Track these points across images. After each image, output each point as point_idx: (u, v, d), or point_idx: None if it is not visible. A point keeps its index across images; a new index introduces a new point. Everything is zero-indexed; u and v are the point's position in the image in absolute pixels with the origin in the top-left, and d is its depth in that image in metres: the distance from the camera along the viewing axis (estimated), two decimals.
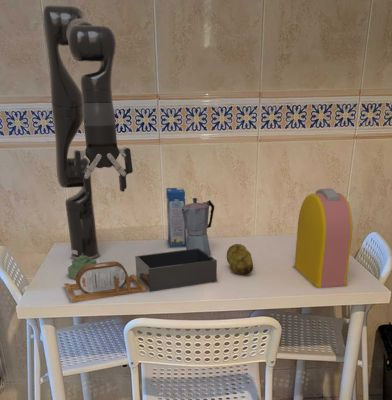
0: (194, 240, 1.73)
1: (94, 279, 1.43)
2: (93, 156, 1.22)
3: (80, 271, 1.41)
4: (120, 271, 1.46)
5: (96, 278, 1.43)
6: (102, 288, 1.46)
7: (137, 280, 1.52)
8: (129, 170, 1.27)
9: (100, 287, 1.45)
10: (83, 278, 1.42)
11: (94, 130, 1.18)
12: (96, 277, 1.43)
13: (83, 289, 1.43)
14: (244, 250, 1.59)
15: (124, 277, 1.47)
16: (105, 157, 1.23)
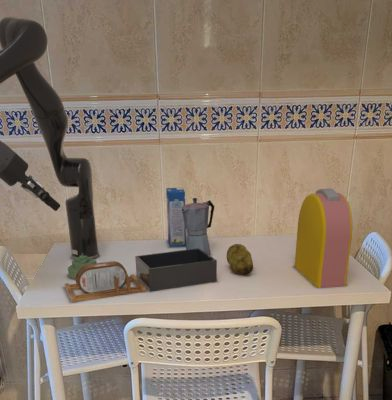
0: (194, 240, 1.73)
1: (94, 279, 1.43)
2: None
3: (80, 271, 1.41)
4: (120, 271, 1.46)
5: (96, 278, 1.44)
6: (102, 288, 1.46)
7: (137, 280, 1.52)
8: (41, 199, 1.29)
9: (100, 287, 1.45)
10: (83, 278, 1.42)
11: None
12: (96, 277, 1.43)
13: (83, 289, 1.43)
14: (244, 250, 1.59)
15: (124, 277, 1.47)
16: None
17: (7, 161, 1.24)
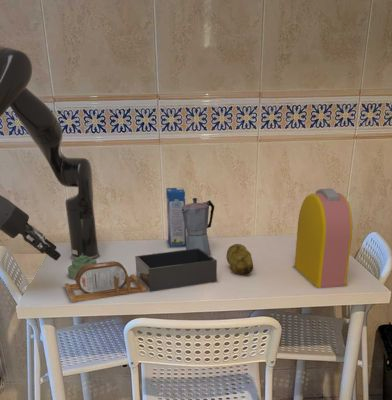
0: (194, 240, 1.73)
1: (94, 279, 1.43)
2: None
3: (80, 271, 1.41)
4: (120, 271, 1.46)
5: (96, 278, 1.44)
6: (102, 288, 1.46)
7: (137, 280, 1.52)
8: None
9: (100, 287, 1.45)
10: (83, 278, 1.42)
11: None
12: (96, 277, 1.43)
13: (83, 289, 1.43)
14: (244, 250, 1.59)
15: (124, 277, 1.47)
16: None
17: (7, 216, 1.27)
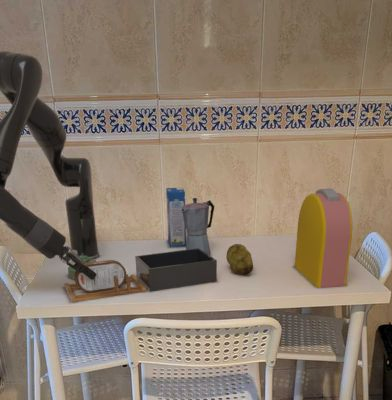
0: (194, 240, 1.73)
1: None
2: None
3: None
4: (118, 269, 1.46)
5: None
6: (101, 286, 1.46)
7: (137, 280, 1.52)
8: None
9: (99, 285, 1.46)
10: (81, 275, 1.43)
11: None
12: None
13: (82, 287, 1.44)
14: (244, 250, 1.59)
15: (123, 275, 1.47)
16: None
17: (46, 239, 1.32)
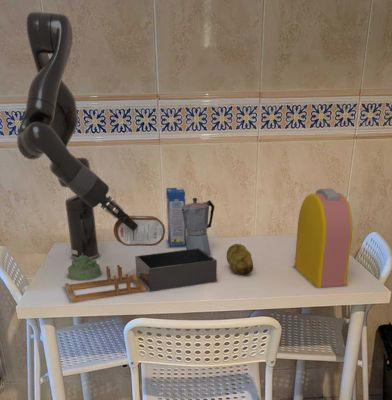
0: (194, 240, 1.73)
1: None
2: None
3: (119, 220, 1.41)
4: (158, 226, 1.45)
5: (134, 230, 1.43)
6: (139, 241, 1.45)
7: (137, 280, 1.52)
8: (121, 221, 1.38)
9: (137, 240, 1.45)
10: (121, 227, 1.42)
11: None
12: None
13: (120, 239, 1.43)
14: (244, 250, 1.59)
15: (162, 233, 1.47)
16: None
17: (90, 185, 1.31)
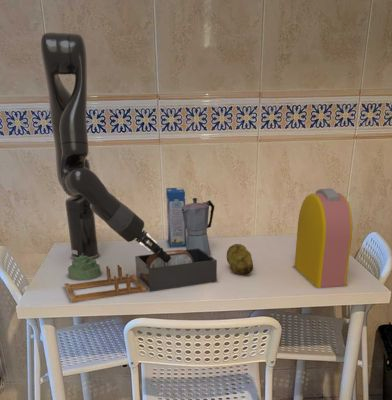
0: (194, 240, 1.73)
1: (163, 266, 1.51)
2: None
3: (150, 258, 1.49)
4: (187, 259, 1.53)
5: (165, 265, 1.51)
6: None
7: (137, 280, 1.52)
8: (155, 254, 1.44)
9: None
10: (153, 264, 1.49)
11: None
12: (165, 264, 1.51)
13: None
14: (244, 250, 1.59)
15: None
16: None
17: (128, 222, 1.39)
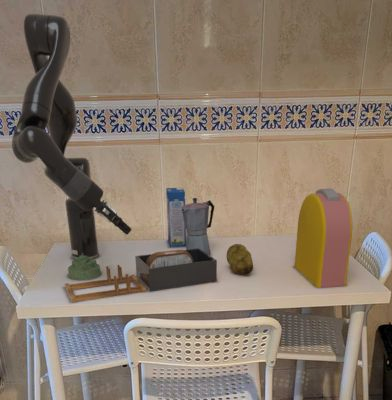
0: (194, 240, 1.73)
1: (163, 266, 1.51)
2: None
3: (150, 258, 1.49)
4: (187, 259, 1.53)
5: (165, 265, 1.51)
6: None
7: (137, 280, 1.52)
8: None
9: None
10: (153, 264, 1.49)
11: None
12: (165, 264, 1.51)
13: None
14: (244, 250, 1.59)
15: None
16: None
17: (85, 189, 1.31)
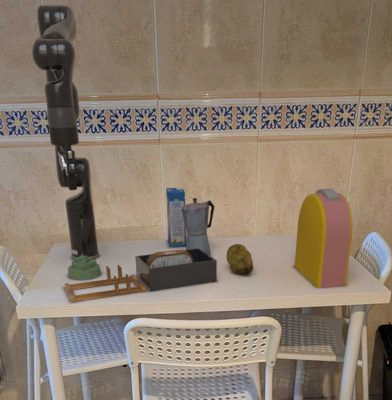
0: (194, 240, 1.73)
1: (163, 266, 1.51)
2: None
3: (150, 258, 1.49)
4: (187, 259, 1.53)
5: (165, 265, 1.51)
6: None
7: (137, 280, 1.52)
8: (67, 171, 1.34)
9: None
10: (153, 264, 1.49)
11: None
12: (165, 264, 1.51)
13: None
14: (244, 250, 1.59)
15: None
16: None
17: (67, 125, 1.32)
